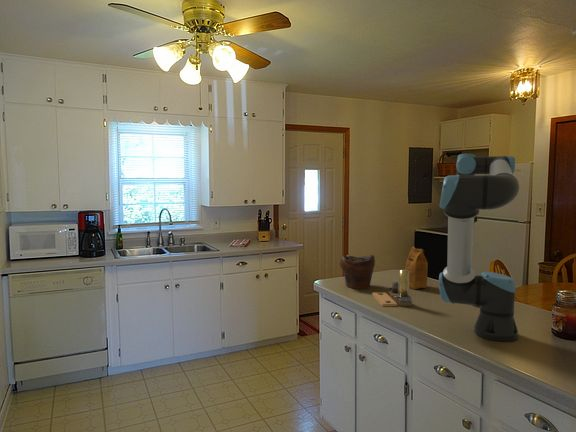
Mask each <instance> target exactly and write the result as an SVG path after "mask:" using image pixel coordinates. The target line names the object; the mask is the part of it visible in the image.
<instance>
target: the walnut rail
mask: <svg viewBox="0 0 576 432" xmlns="http://www.w3.org/2000/svg"><path fill="white" fill-rule="evenodd" d="M391 285H392V286H391V287H385V290H387V294H388V295H389V296H390V297H391V298H392V299H393V300H394V301H395V302H396V303H397V307H412V306H413V301H412V300H411V301H399V300H398V299H397V298H394V297H397V294H399V282H398V281H393V282H392V284H391Z"/></svg>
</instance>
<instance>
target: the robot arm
mask: <svg viewBox="0 0 576 432" xmlns="http://www.w3.org/2000/svg"><path fill="white" fill-rule="evenodd" d="M455 167H456V168H455V169H456V174H454V175H447V176H445V177H444V178H443V183H442V189H441V194H440V201H439V208H440V209H443V213H444V215H445V216H446V217H447V263H446V265H447V266H446V267H444V269H443V271H442V272H440V273H439V276H438V286H439V287H438V288H439V295H440V299H441V300H442V301H443V302H444V303H449V304H453V305H455V304H458V305H465V306H466V305H468V306H475V307H479V314H478V316H477V319H476V321H475V323H474V326H473V332H474V333H475V335H477V336H478V337H480V338H482V339H486V340H490V341H494V342H507V343H509V342H514V341H517V340H518V338H519V331H518V327H517V324H516V320H515V316H514V315H515V297H516V296H515V294H516V292H517V290H516V281H515V280H514V279H513V278H512V277H510V276H509V275H505V274H502V273H498V272H494V271H482V272H481V274H480V275H477V274H476V271H475V270H474V269H473V268H472V266H473V265H472V264H473V248H474V247H473V242H474V231H475V230H474V228H475V223H477V222H478V217H477V216H478V215H479V214H480V210H484V211H485V210H496V209H500V208H502V207H505V206H506V205H509V204H510V203H512V201H514V200H515V198H516V197H517V196H518V194H519V191H520V184H519V181H518V179H517V177H515V176H514V175H513V174H514V173H515V171H516V170H515V168H516V157H515V156H512V155H494V156H493V155H492V156H486V155H485V156H482V155H481V156H476V155H475V154H473V153H461V154H458V156H457V160H456V163H455Z"/></svg>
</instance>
